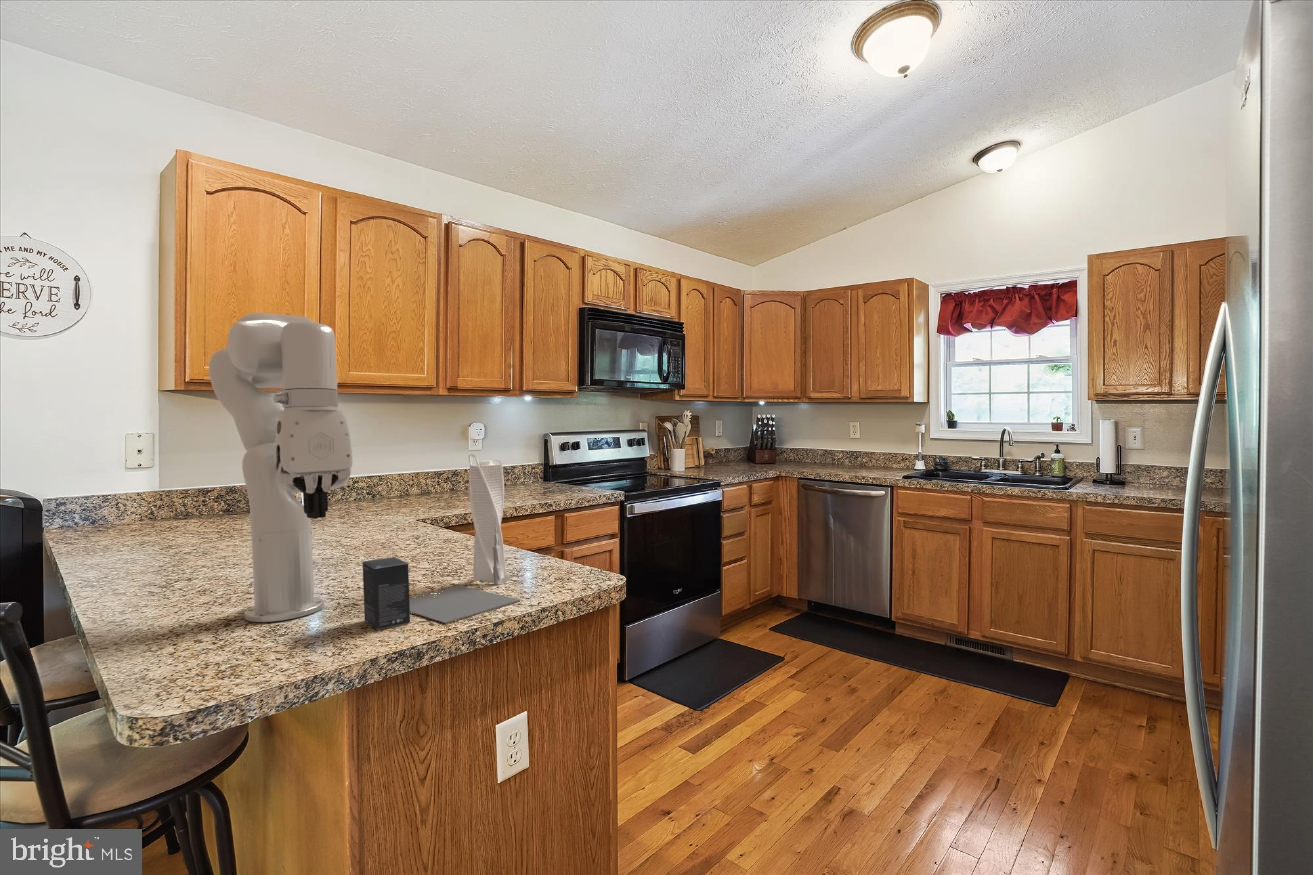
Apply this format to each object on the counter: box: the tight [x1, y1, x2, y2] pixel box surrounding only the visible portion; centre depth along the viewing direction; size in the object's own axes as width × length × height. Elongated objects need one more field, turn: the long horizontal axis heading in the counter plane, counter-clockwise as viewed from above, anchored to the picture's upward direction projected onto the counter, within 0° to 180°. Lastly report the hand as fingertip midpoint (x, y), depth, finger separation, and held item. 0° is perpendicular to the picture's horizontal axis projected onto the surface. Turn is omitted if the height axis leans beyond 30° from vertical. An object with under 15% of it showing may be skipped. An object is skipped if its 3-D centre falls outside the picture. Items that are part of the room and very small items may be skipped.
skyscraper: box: [468, 453, 514, 586], centre depth 134 cm, size 8×8×28 cm
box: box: [361, 556, 411, 631], centre depth 106 cm, size 8×6×11 cm
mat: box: [409, 584, 521, 625], centre depth 117 cm, size 20×16×1 cm
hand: (316, 517), depth 97 cm, fingers closed
